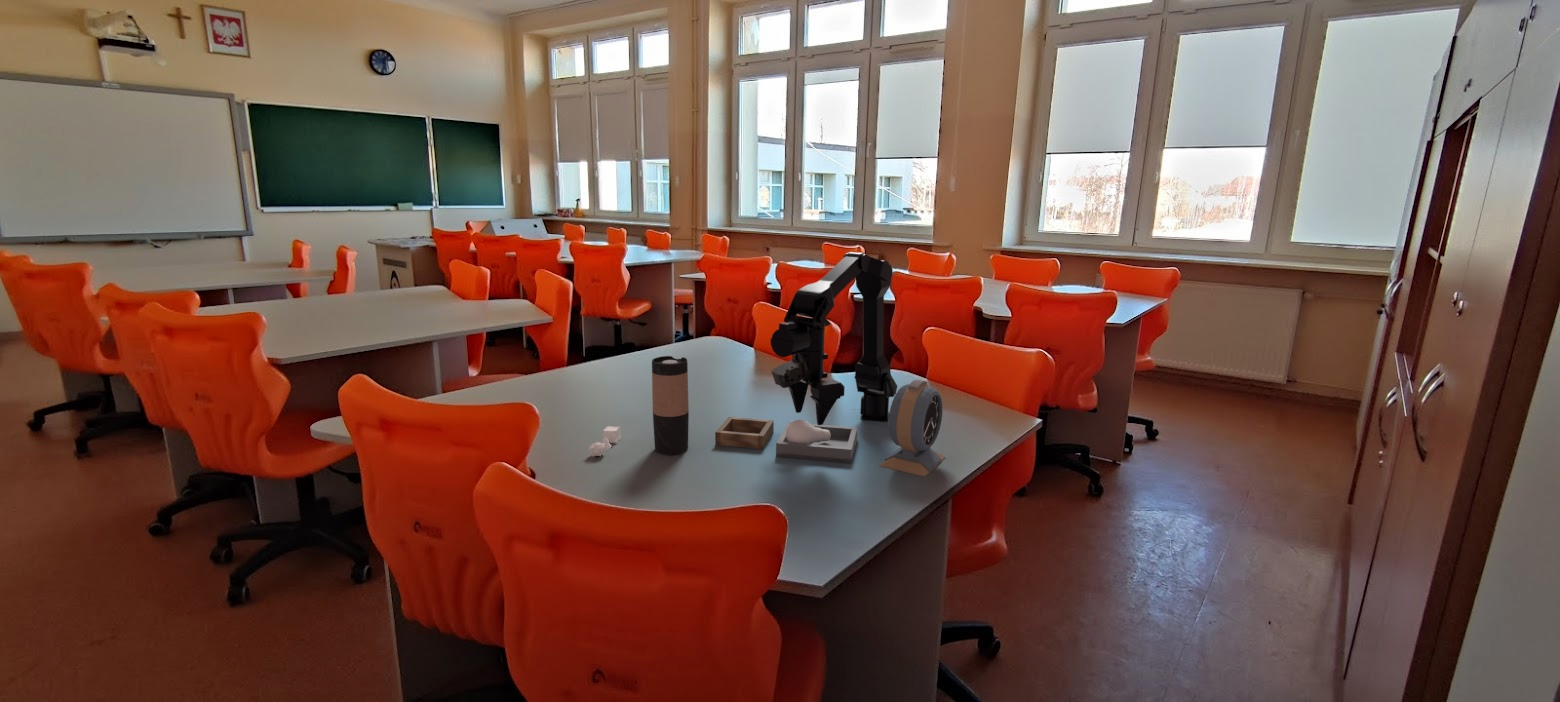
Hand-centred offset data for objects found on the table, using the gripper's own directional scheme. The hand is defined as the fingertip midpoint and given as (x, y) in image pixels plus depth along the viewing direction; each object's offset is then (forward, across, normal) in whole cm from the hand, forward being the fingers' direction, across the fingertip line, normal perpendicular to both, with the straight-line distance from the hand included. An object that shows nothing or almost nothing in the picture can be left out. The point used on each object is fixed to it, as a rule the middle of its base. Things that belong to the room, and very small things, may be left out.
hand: (808, 418), depth 152 cm
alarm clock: (+7, +16, +16) cm, 24 cm away
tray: (+7, 0, +2) cm, 7 cm away
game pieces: (+8, -20, -40) cm, 45 cm away
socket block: (+7, -12, -10) cm, 17 cm away
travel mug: (+7, -13, -27) cm, 31 cm away
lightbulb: (+5, 0, +6) cm, 7 cm away
